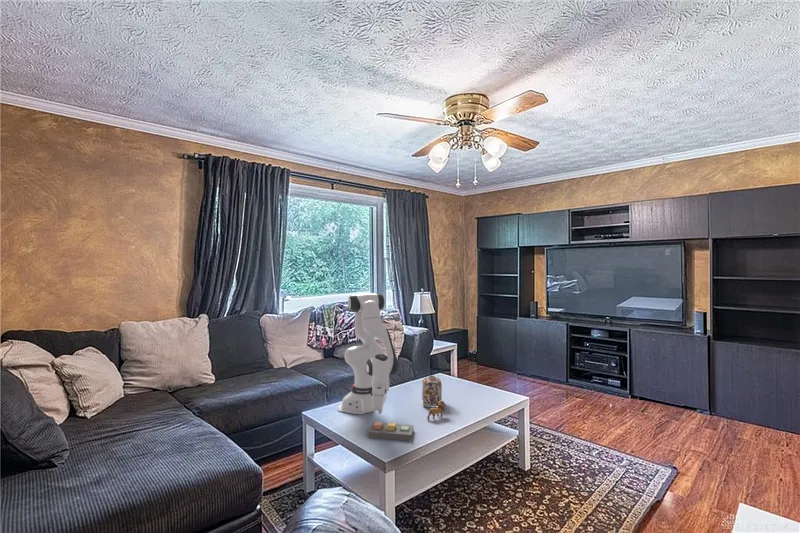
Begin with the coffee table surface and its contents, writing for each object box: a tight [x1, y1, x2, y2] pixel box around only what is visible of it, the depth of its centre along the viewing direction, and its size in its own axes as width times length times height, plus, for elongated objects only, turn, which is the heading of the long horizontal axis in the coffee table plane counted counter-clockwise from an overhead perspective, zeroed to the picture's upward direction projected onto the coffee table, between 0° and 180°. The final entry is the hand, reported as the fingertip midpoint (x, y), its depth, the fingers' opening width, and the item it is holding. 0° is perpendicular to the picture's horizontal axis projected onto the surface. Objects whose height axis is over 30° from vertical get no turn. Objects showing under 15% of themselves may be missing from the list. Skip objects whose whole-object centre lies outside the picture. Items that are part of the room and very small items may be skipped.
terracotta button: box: [373, 421, 384, 430], centre depth 205 cm, size 4×4×4 cm
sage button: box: [401, 426, 409, 432], centre depth 203 cm, size 4×4×4 cm
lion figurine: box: [426, 400, 446, 422], centre depth 226 cm, size 15×5×9 cm, turn 140°
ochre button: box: [387, 422, 397, 431], centre depth 204 cm, size 4×4×4 cm
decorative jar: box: [421, 375, 443, 407], centre depth 249 cm, size 12×12×18 cm
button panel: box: [367, 422, 414, 441], centre depth 204 cm, size 22×12×3 cm, turn 83°
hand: (380, 412), depth 205 cm, fingers closed
